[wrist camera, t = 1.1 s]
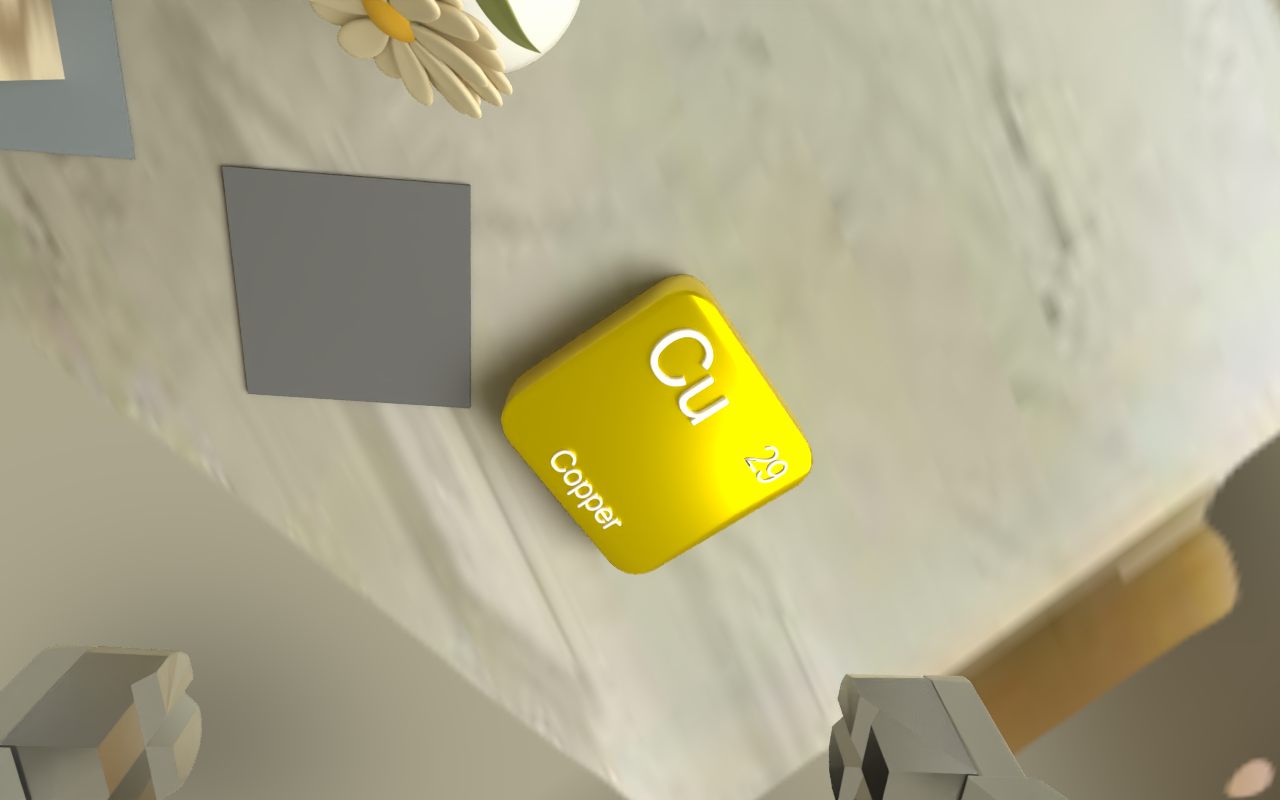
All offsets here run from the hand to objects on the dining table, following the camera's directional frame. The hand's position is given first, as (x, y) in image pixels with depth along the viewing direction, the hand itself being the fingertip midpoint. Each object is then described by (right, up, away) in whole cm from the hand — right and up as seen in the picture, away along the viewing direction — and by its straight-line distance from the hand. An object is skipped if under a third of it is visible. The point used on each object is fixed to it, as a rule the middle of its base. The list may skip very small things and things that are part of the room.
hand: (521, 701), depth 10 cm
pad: (-16, +10, +39) cm, 43 cm away
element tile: (+3, +3, +43) cm, 43 cm away
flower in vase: (-6, +26, +33) cm, 43 cm away
